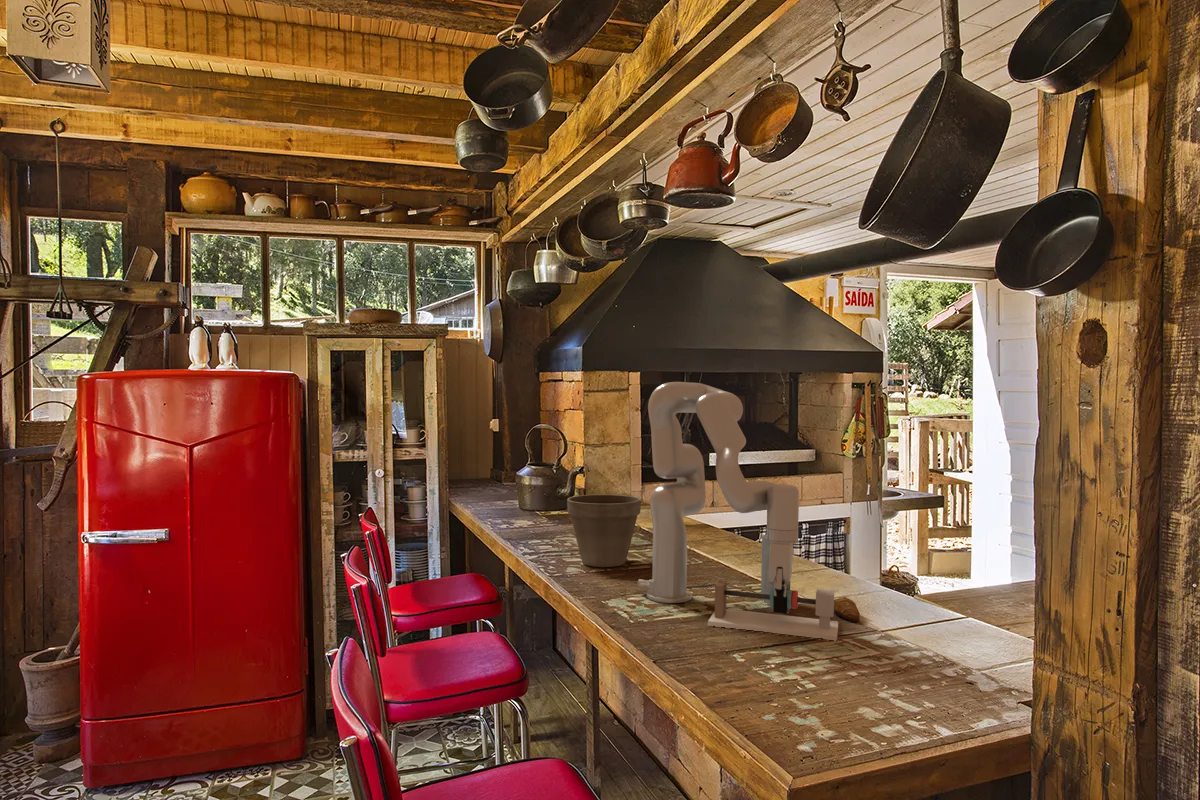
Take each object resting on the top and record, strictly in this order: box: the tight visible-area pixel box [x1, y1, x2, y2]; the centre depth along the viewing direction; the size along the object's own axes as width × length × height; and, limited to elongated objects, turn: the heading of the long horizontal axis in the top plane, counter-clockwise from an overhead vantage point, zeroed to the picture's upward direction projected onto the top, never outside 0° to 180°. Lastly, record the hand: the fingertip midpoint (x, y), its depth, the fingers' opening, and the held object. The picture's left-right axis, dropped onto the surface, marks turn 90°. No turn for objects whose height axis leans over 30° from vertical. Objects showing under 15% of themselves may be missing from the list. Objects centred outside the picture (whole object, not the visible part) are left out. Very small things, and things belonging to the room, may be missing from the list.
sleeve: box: [769, 588, 792, 610], centre depth 178 cm, size 5×4×4 cm
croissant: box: [834, 596, 861, 623], centre depth 188 cm, size 14×7×5 cm, turn 6°
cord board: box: [707, 580, 839, 641], centre depth 178 cm, size 30×12×10 cm, turn 71°
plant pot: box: [566, 493, 642, 568], centre depth 244 cm, size 25×25×22 cm
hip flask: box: [760, 534, 791, 613], centre depth 197 cm, size 16×4×20 cm, turn 7°
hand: (781, 609), depth 178 cm, fingers closed on sleeve, 3 cm apart
